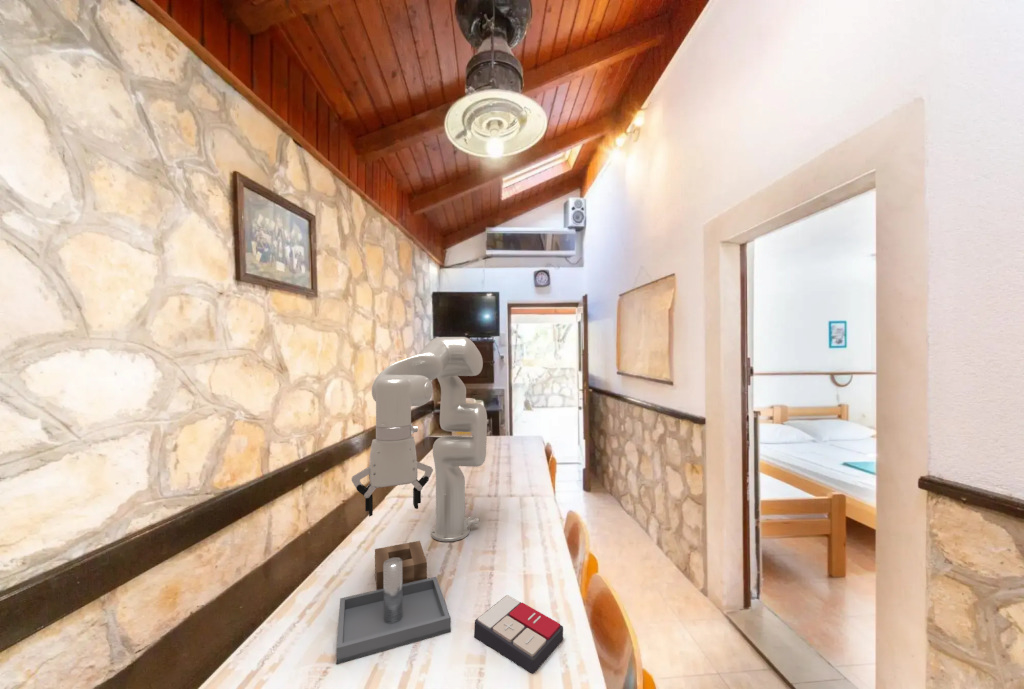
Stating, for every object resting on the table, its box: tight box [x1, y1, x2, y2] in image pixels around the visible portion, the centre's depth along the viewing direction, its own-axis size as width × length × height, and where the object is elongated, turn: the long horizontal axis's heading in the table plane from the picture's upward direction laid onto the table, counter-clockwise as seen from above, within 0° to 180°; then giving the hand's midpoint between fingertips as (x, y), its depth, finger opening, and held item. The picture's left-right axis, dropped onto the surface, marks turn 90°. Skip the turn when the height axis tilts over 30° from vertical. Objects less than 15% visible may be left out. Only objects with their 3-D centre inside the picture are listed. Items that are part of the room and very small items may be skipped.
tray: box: [336, 576, 452, 665], centre depth 84 cm, size 22×16×3 cm
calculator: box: [473, 594, 564, 674], centre depth 79 cm, size 11×4×15 cm
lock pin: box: [383, 557, 403, 624], centre depth 84 cm, size 4×4×12 cm
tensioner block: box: [374, 540, 428, 590], centre depth 100 cm, size 12×12×6 cm
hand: (393, 510), depth 84 cm, fingers open, 9 cm apart
